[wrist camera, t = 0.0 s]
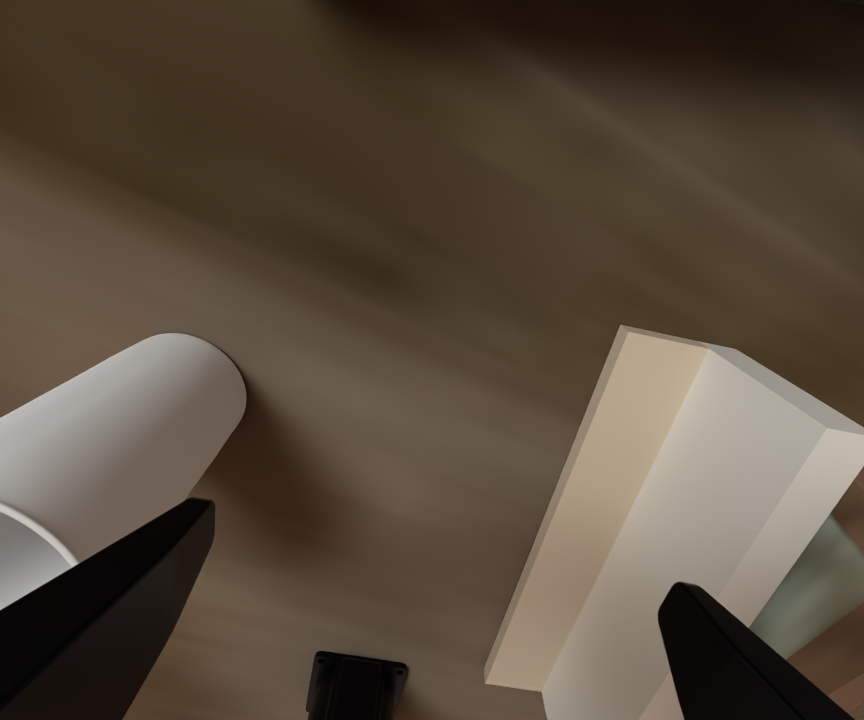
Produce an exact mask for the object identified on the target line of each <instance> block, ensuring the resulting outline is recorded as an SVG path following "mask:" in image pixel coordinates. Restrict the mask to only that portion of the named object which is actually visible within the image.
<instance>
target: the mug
mask: <svg viewBox="0 0 864 720" xmlns="http://www.w3.org/2000/svg"><path fill="white" fill-rule="evenodd" d="M246 400H247V396H246V388H245V384H244V381H243V379H242V376H241V374H240V372H239V371H238V369H237V368H236V366H235V365H234V363H233V362H232V361H231V360H230V359H229V358H228V357H227V356H226V355H225V354H224V353H223V352H222V351H221V350H219V349H218V348H217V347H215V346H214V345H212V344H210V343H208V342H206V341H204V340H202V339H200V338H197V337H194V336H191V335H186V334H179V333H166V334H159V335H155V336H152V337H149V338H147V339H145V340H143V341H141V342H139V343H137V344H135V345H133V346H131V347H129V348H127V349H125V350H123V351H122V352H120V353H118V354H116V355H114V356H112V357H110V358H108V359H107V360H105V361H103V362H101V363H99V364H98V365H96V366H94V367H92V368H90V369H89V370H87V371H85V372H83V373H81V374H80V375H78V376H76V377H74V378H72V379H71V380H69V381H67V382H65V383H63V384H62V385H60V386H58V387H56V388H54V389H52V390H51V391H49V392H47V393H45V394H43V395H42V396H40V397H38V398H36V399H34V400H32V401H31V402H29V403H27V404H25V405H23V406H21V407H20V408H18V409H16V410H14V411H12V412H10V413H9V414H7V415H5V416H3V417H1V418H0V610H1V609H3V608H4V607H6V606H8V605H10V604H11V603H13V602H15V601H16V600H18V599H20V598H21V597H23V596H25V595H26V594H28V593H30V592H31V591H33V590H35V589H36V588H38V587H40V586H42V585H43V584H45V583H47V582H48V581H50V580H52V579H53V578H55V577H57V576H58V575H60V574H62V573H63V572H65V571H67V570H68V569H70V568H72V567H74V566H75V565H77V564H79V563H80V562H82V561H84V560H85V559H87V558H89V557H90V556H92V555H94V554H95V553H97V552H99V551H100V550H102V549H104V548H106V547H107V546H109V545H111V544H112V543H114V542H116V541H117V540H119V539H121V538H122V537H124V536H126V535H127V534H129V533H131V532H132V531H134V530H136V529H138V528H139V527H141V526H143V525H144V524H146V523H148V522H149V521H151V520H153V519H154V518H156V517H158V516H159V515H161V514H163V513H164V512H166V511H168V510H170V509H171V508H173V507H175V506H176V505H178V504H180V503H181V502H183V501H184V500H185V499H186V497H187V496H188V495H189V493H190V492H191V490H192V489H193V488H194V486H195V485H196V483H197V482H198V481H199V479H200V478H201V476H202V475H203V474H204V472H205V471H206V469H207V468H208V467H209V465H210V464H211V463H212V461H213V460H214V458H215V457H216V456H217V454H218V453H219V451H220V450H221V448H222V447H223V445H224V444H225V442H226V441H227V439H228V438H229V436H230V435H231V434H232V432H233V431H234V429H235V428H236V427H237V425H238V424H239V422H240V420H241V419H242V417H243V414H244V411H245V408H246Z"/></svg>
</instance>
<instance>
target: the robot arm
mask: <svg viewBox="0 0 864 720" xmlns="http://www.w3.org/2000/svg"><path fill="white" fill-rule="evenodd" d="M214 532H215V503H214V501H212V500H209V499H203V498H198V497H191V498H188V499H186V500H185V501H183V502H181V503H180V504H178V505H176V506H175V507H173V508H171V509H170V510H168V511H166V512H164V513H163V514H161V515H159V516H158V517H156V518H154V519H153V520H151V521H149V522H148V523H146V524H144V525H143V526H141V527H139V528H138V529H136V530H134V531H132V532H131V533H129V534H127V535H126V536H124V537H122V538H121V539H119V540H117V541H116V542H114V543H112V544H111V545H109V546H107V547H106V548H104V549H102V550H100V551H99V552H97V553H95V554H94V555H92V556H90V557H89V558H87V559H85V560H84V561H82V562H80V563H79V564H77V565H75V566H74V567H72V568H70V569H68V570H67V571H65V572H63V573H62V574H60V575H58V576H57V577H55V578H53V579H52V580H50V581H48V582H47V583H45V584H43V585H42V586H40V587H38V588H36V589H35V590H33V591H31V592H30V593H28V594H26V595H25V596H23V597H21V598H20V599H18V600H16V601H15V602H13V603H11V604H10V605H8V606H6V607H4V608H3V609H1V610H0V720H122V719H123V717H124V716H125V714H126V712H127V710H128V709H129V707H130V705H131V704H132V702H133V700H134V698H135V697H136V695H137V693H138V691H139V690H140V688H141V686H142V684H143V683H144V681H145V679H146V677H147V676H148V674H149V672H150V671H151V669H152V667H153V665H154V664H155V662H156V660H157V658H158V657H159V655H160V653H161V651H162V650H163V648H164V646H165V644H166V643H167V641H168V639H169V637H170V635H171V633H172V632H173V630H174V628H175V625H176V623H177V621H178V619H179V617H180V615H181V612H182V610H183V608H184V606H185V604H186V601H187V599H188V597H189V595H190V592H191V590H192V588H193V586H194V584H195V581H196V579H197V577H198V575H199V572H200V570H201V568H202V566H203V564H204V561H205V559H206V557H207V555H208V552H209V550H210V548H211V545H212V542H213V539H214ZM658 624H659V628H660V632H661V636H662V639H663V643H664V647H665V651H666V655H667V659H668V663H669V667H670V670H671V674H672V678H673V682H674V686H675V690H676V694H677V697H678V701H679V704H680V708H681V711H682V714H683V717H684V720H855V719H854V718H853V717H851V716H850V715H849V714H848V713H847V712H846V711H844V710H843V709H842V708H841V707H840V706H839V705H837V704H836V703H835V702H834V701H833V700H832V699H830V698H829V697H828V696H827V695H826V694H825V693H824V692H822V691H821V690H820V689H819V688H818V687H817V686H815V685H814V684H813V683H812V682H811V681H810V680H808V679H807V678H806V677H805V676H804V675H803V674H801V673H800V672H799V671H798V670H797V669H796V668H794V667H793V666H792V665H791V664H790V663H789V662H787V661H786V660H785V659H784V658H783V657H782V656H781V655H779V654H778V653H777V652H776V651H775V650H774V649H772V648H771V647H770V646H769V645H768V644H767V643H765V642H764V641H763V640H762V639H761V638H760V637H758V636H757V635H756V634H755V633H754V632H753V631H751V630H750V629H749V628H748V627H747V626H746V625H745V624H743V623H742V622H741V621H740V620H739V619H738V618H736V617H735V616H734V615H733V614H732V613H731V612H729V611H728V610H727V609H726V608H725V607H724V606H722V605H721V604H720V603H719V602H718V601H717V600H715V599H714V598H713V597H712V596H711V595H710V594H709V593H707V592H706V591H705V590H704V589H703V588H701V587H700V586H698V585H696V584H692V583H686V582H676V583H674V584H673V585H672V587H671V588H670V590H669V592H668V593H667V595H666V597H665V599H664V600H663V602H662V604H661V605H660V607H659V610H658ZM406 675H407V666H406V664H404V663H400V662H393V661H386V660H380V659H373V658H366V657H360V656H353V655H346V654H339V653H333V652H326V651H319V652H317V653H316V654H315V658H314V663H313V669H312V675H311V680H310V686H309V692H308V698H307V704H306V711H307V712H309V715H308V720H393V719H394V715H395V712H396V709H397V705H398V702H399V699H400V695H401V692H402V688H403V685H404V682H405V678H406Z"/></svg>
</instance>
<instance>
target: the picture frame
mask: <svg viewBox="0 0 864 720" xmlns="http://www.w3.org/2000/svg"><path fill="white" fill-rule="evenodd" d="M749 629H750V630H751V631H753V632H754V633H755V634H756V635H757V636H758V637H760V638H761V639H762V640H763V641H764V642H765V643H767V644H768V645H769V646H770V647H771V648H772V649H774V650H775V651H776V652H777V653H778V654H779V655H781V656H782V657H783V658H784V659H785V660H786V661H787V662H789V663H790V664H791V665H792V666H793V667H794V668H796V669H797V670H798V671H799V672H800V673H801V674H803V675H804V676H805V677H806V678H807V679H808V680H810V681H811V682H812V683H813V684H814V685H815V686H817V687H818V688H819V689H820V690H821V691H822V692H824V693H825V694H826V695H827V696H828V697H829V698H830V699H832V700H833V701H834V702H835V703H836V704H837V705H839V706H840V707H841V708H842V709H843V710H844V711H846V712H847V713H848V712H849V711H851V710H853V709H854V708H856V707H858V706H860V705H861V704H863V703H864V466H863V468H862V469H861V470H860V472H859V473H858V475H857V476H856V478H855V479H854V480H853V482H852V483H851V485H850V486H849V487H848V489H847V490H846V492H845V493H844V494H843V496H842V497H841V499H840V500H839V501H838V503H837V504H836V506H835V507H834V508H833V510H832V511H831V513H830V514H829V516H828V517H827V518H826V520H825V521H824V523H823V524H822V525H821V527H820V528H819V530H818V531H817V532H816V534H815V535H814V537H813V538H812V539H811V541H810V542H809V544H808V545H807V546H806V548H805V549H804V551H803V552H802V554H801V555H800V556H799V558H798V559H797V561H796V562H795V563H794V565H793V566H792V568H791V569H790V570H789V572H788V573H787V575H786V576H785V577H784V579H783V580H782V582H781V583H780V584H779V586H778V587H777V589H776V590H775V592H774V593H773V594H772V596H771V597H770V599H769V600H768V601H767V603H766V604H765V606H764V607H763V608H762V610H761V611H760V613H759V614H758V615H757V617H756V618H755V620H754V621H753V622H752V624H751V625H750V627H749Z"/></svg>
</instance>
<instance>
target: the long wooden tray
mask: <svg viewBox="0 0 864 720" xmlns="http://www.w3.org/2000/svg"><path fill="white" fill-rule="evenodd" d="M863 466H864V428H863V427H862V426H860V425H859V424H857V423H855V422H854V421H852V420H850V419H849V418H847V417H846V416H844V415H842V414H841V413H839V412H837V411H836V410H834V409H832V408H831V407H829V406H828V405H826V404H824V403H823V402H821V401H819V400H818V399H816V398H815V397H813V396H811V395H810V394H808V393H806V392H805V391H803V390H801V389H800V388H798V387H797V386H795V385H793V384H792V383H790V382H788V381H787V380H785V379H784V378H782V377H780V376H779V375H777V374H775V373H774V372H772V371H771V370H769V369H767V368H766V367H764V366H762V365H761V364H759V363H757V362H756V361H754V360H753V359H751V358H749V357H748V356H746V355H744V354H743V353H741V352H740V351H738V350H736V349H732V348H727V347H723V346H718V345H713V344H709V343H704V342H699V341H694V340H690V339H685V338H680V337H676V336H671V335H666V334H662V333H657V332H652V331H647V330H643V329H638V328H633V327H629V326H624V325H620V327H619V329H618V332H617V335H616V337H615V340H614V342H613V345H612V347H611V350H610V352H609V355H608V357H607V360H606V362H605V365H604V367H603V370H602V372H601V375H600V377H599V380H598V382H597V385H596V387H595V390H594V392H593V395H592V398H591V400H590V403H589V405H588V408H587V410H586V413H585V415H584V418H583V420H582V423H581V425H580V428H579V430H578V433H577V435H576V438H575V440H574V443H573V445H572V448H571V450H570V453H569V455H568V458H567V460H566V463H565V466H564V468H563V471H562V473H561V476H560V478H559V481H558V483H557V486H556V488H555V491H554V493H553V496H552V498H551V501H550V503H549V506H548V508H547V511H546V513H545V516H544V518H543V521H542V523H541V526H540V529H539V531H538V534H537V536H536V539H535V541H534V544H533V546H532V549H531V551H530V554H529V556H528V559H527V561H526V564H525V566H524V569H523V571H522V574H521V576H520V579H519V581H518V584H517V586H516V589H515V591H514V594H513V597H512V599H511V602H510V604H509V607H508V609H507V612H506V614H505V617H504V619H503V622H502V624H501V627H500V629H499V632H498V634H497V637H496V639H495V642H494V644H493V647H492V649H491V652H490V654H489V657H488V659H487V662H486V665H485V667H484V675H485V684H492V685H499V686H506V687H513V688H519V689H526V690H533V691H540V692H542V696H543V701H544V706H545V711H546V716H547V720H684V717H683V714H682V711H681V708H680V704H679V701H678V697H677V694H676V690H675V686H674V682H673V678H672V674H671V670H670V667H669V663H668V659H667V655H666V651H665V647H664V643H663V639H662V636H661V632H660V628H659V624H658V610H659V607H660V605H661V604H662V602H663V600H664V599H665V597H666V595H667V593H668V592H669V590H670V588H671V587H672V585H673V584H674V583H676V582H686V583H692V584H696V585H698V586H700V587H701V588H703V589H704V590H705V591H706V592H707V593H709V594H710V595H711V596H712V597H713V598H714V599H715V600H717V601H718V602H719V603H720V604H721V605H722V606H724V607H725V608H726V609H727V610H728V611H729V612H731V613H732V614H733V615H734V616H735V617H736V618H738V619H739V620H740V621H741V622H742V623H743V624H745V625H746V626H747V627H748V628H749V627H750V625H751V624H752V622H753V621H754V620H755V618H756V617H757V615H758V614H759V613H760V611H761V610H762V608H763V607H764V606H765V604H766V603H767V601H768V600H769V599H770V597H771V596H772V594H773V593H774V592H775V590H776V589H777V587H778V586H779V584H780V583H781V582H782V580H783V579H784V577H785V576H786V575H787V573H788V572H789V570H790V569H791V568H792V566H793V565H794V563H795V562H796V561H797V559H798V558H799V556H800V555H801V554H802V552H803V551H804V549H805V548H806V546H807V545H808V544H809V542H810V541H811V539H812V538H813V537H814V535H815V534H816V532H817V531H818V530H819V528H820V527H821V525H822V524H823V523H824V521H825V520H826V518H827V517H828V516H829V514H830V513H831V511H832V510H833V508H834V507H835V506H836V504H837V503H838V501H839V500H840V499H841V497H842V496H843V494H844V493H845V492H846V490H847V489H848V487H849V486H850V485H851V483H852V482H853V480H854V479H855V478H856V476H857V475H858V473H859V472H860V470H861V469H862V468H863Z"/></svg>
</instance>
